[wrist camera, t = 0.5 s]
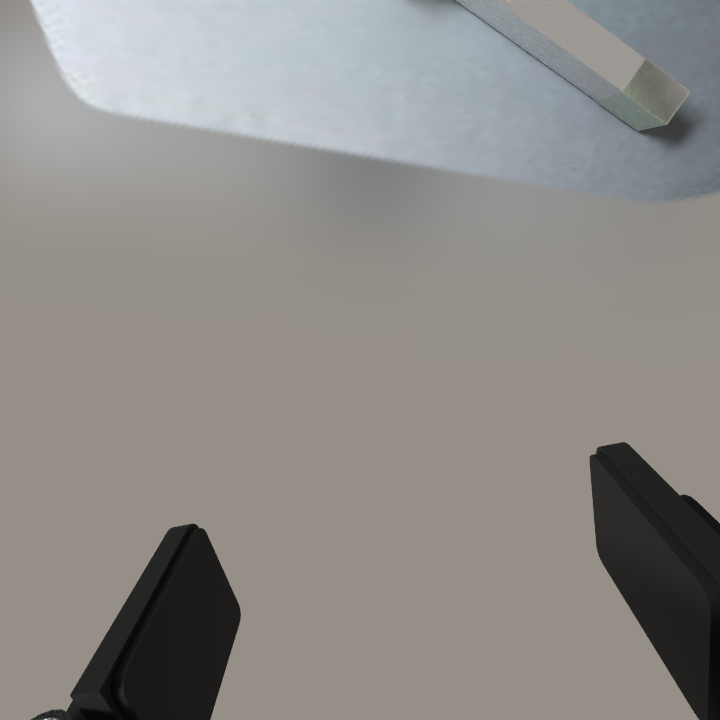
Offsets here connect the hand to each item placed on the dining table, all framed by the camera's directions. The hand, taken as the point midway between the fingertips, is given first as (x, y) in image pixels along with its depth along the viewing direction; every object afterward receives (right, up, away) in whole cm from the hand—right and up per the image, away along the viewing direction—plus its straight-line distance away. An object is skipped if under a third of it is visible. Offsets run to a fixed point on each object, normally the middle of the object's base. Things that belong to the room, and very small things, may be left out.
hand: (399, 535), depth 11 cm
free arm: (+11, +26, +19) cm, 34 cm away
